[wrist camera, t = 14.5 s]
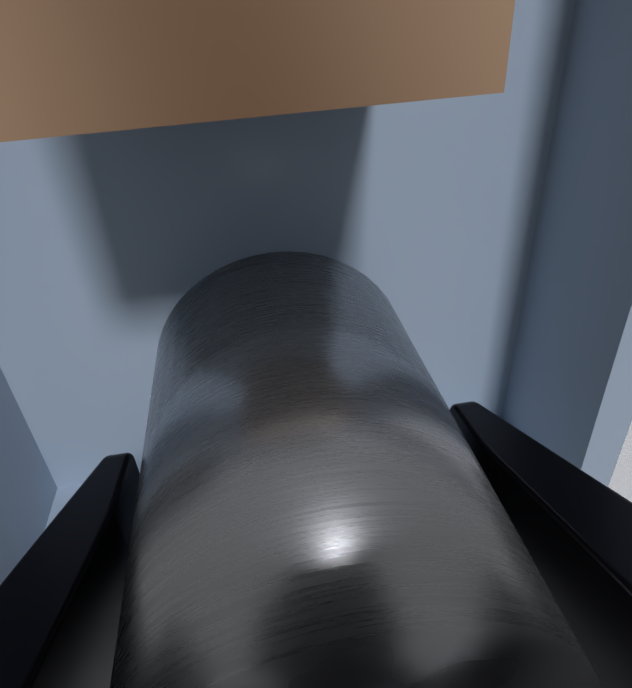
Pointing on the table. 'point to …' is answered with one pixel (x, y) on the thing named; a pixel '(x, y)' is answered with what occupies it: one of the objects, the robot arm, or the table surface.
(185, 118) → the walnut cube
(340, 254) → the tote
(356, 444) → the steel cylinder
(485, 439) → the robot arm
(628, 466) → the table surface
